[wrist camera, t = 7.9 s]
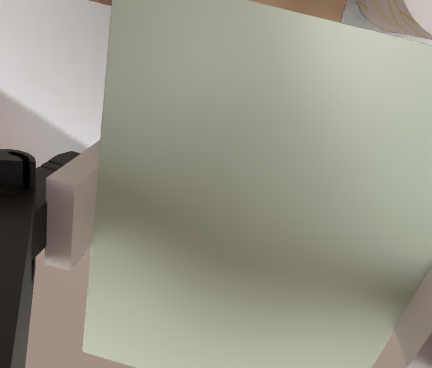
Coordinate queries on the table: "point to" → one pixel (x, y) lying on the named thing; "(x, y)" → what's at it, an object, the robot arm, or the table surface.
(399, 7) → the cup
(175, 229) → the lid
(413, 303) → the robot arm
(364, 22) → the table surface
